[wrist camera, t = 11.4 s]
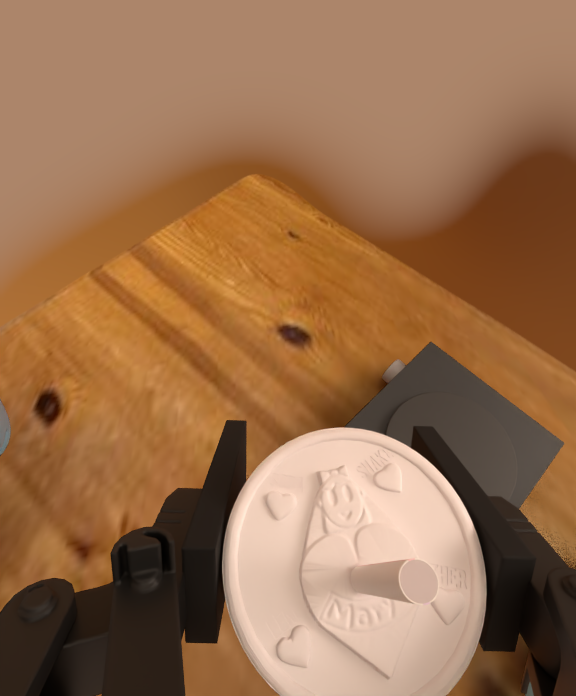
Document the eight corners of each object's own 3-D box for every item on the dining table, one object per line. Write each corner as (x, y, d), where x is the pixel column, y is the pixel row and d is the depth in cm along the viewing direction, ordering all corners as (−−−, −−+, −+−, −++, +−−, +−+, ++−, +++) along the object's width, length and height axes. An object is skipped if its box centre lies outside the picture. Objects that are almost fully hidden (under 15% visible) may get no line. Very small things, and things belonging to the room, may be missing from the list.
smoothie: (262, 673, 16) (208, 991, 4) (236, 506, 19) (161, 381, 7) (411, 629, 17) (769, 769, 4) (363, 476, 20) (497, 317, 8)
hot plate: (302, 459, 35) (305, 440, 30) (405, 359, 41) (422, 329, 36) (432, 594, 30) (461, 597, 25) (530, 459, 36) (569, 440, 31)
